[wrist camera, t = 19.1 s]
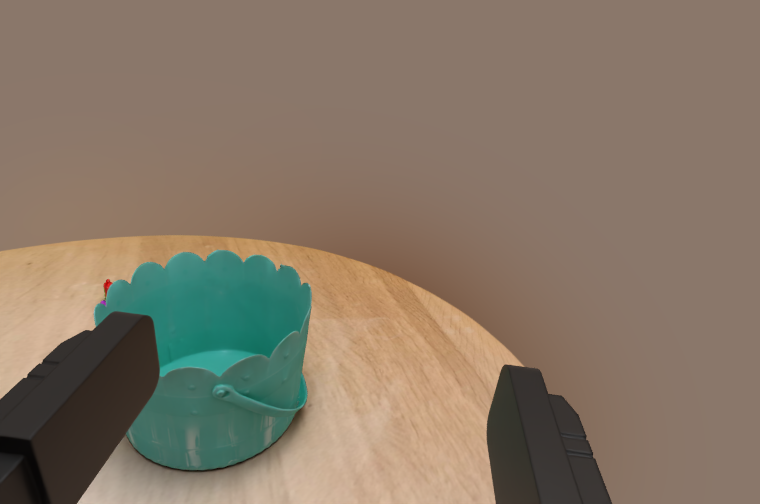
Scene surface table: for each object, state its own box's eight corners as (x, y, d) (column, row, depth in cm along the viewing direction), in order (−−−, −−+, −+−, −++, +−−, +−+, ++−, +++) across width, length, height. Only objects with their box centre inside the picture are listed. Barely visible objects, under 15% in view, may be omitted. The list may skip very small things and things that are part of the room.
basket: (155, 340, 57) (143, 242, 51) (311, 346, 59) (316, 252, 53) (78, 483, 40) (47, 361, 34) (301, 484, 42) (307, 370, 36)
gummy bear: (115, 317, 60) (111, 293, 58) (91, 317, 59) (86, 293, 58) (128, 295, 64) (125, 272, 62) (106, 295, 64) (102, 272, 62)
